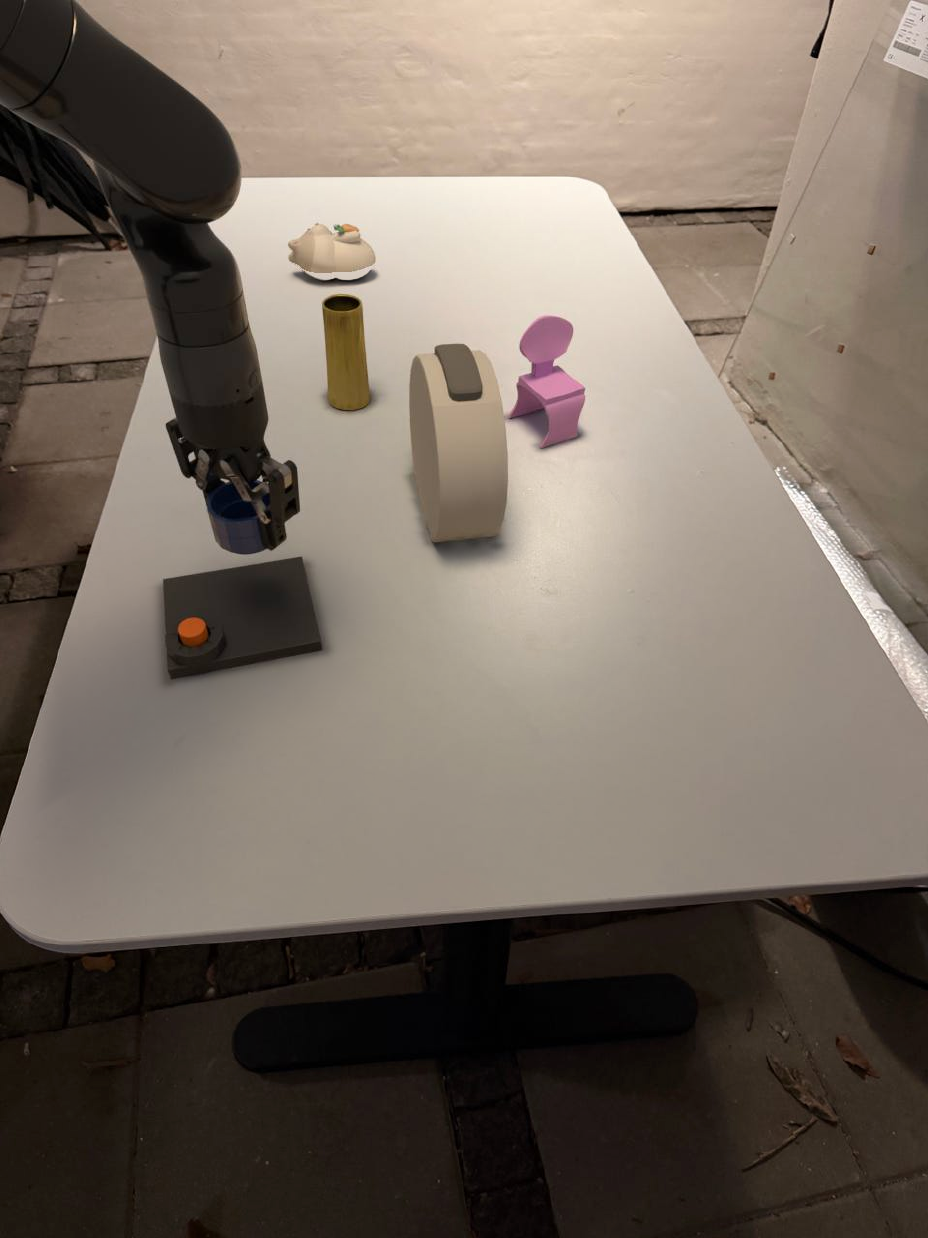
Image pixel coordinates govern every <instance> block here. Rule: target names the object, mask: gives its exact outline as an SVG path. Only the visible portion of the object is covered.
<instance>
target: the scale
mask: <svg viewBox="0 0 928 1238" xmlns="http://www.w3.org/2000/svg"><path fill="white" fill-rule="evenodd" d="M162 586H163V587H162V588H163V603H164V604H163V607H164V625H165V627H164V628H165V635H164V642H165V648H166V662H167V663H166V664H167V672H168V674H169V677H170V679H177V678H182V677H186V676H192V675H197V674H198V675H199V674H202V673H207V672H212V671H218V670H223V669H229V668H234V667H239V666H245V665H250V664H256V663H260V662H266V661H270V660H276V659H280V658H285V657H292V656H296V655H302V654H307V653H312V652H318V651H322V650H323V645H322V640H321V635H320V629H319V625H318V621H317V618H316V613H315V608H314V604H313V600H312V596H311V590H310V586H309V581H308V577H307V574H306V568H305V564H304V559H303V557H302V556H295V557H289V558H283V559H277V560H271V561H265V562H259V563H252V564H247V565H242V566H235V567H229V568H223V569H216V570H211V571H204V572H199V573H198V572H197V573H192V574H186V575H179V576H173V577H167V578H163V579H162ZM188 618H200V619H202V620H203V621H204V622H205V625H206V628H207V631H208V639H207V641H206V642H205V643H204V644H202V645H200V646H197V647H188V646H185V645H184V644H183V643H182V641H181V638H180V635H179V632H178V627H179V625H180V623H181V622H182V621H184V620H186V619H188Z"/></svg>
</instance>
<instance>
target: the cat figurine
mask: <svg viewBox="0 0 928 1238" xmlns="http://www.w3.org/2000/svg"><path fill="white" fill-rule="evenodd" d="M333 230H334V231H337V232H335V233H333V232H332V231H331V230H330V229H329V228H328V226H326V225H325V224H321V223H320V224H319V223H318V222H316V223H314V226H312V227H311V228H308V229H306V231H305V232H304V233H303V234H302V235H301V236H300V237H298V238H295V239H291V240H290V241H288V243H287V246H288V248H289V249H290V250H291V252H290V253H289V254H288V255H287V258H288V261H289V262H290V263H291V262H292V263H291V264H293V263H295V264H294V265H296V264H297V265H296V266H298V265H299V266H298V267H299V268H300V267H301V268H302V269H304V270H306V271H309V272H314V273H332V272H352V271H353V272H354V271H357V270H361V269H364V268H366V267H369V266H372V265H373V264H374V263H375V264H376V254H375V251H374V249H373V248H372V246H371V245H370V244H369V243H368V242H367V241H365V240H364V239H362V238H361V232H360V229H359V228H358V227H357V226H355V225H351V224H348V223H344V224H341V225H340V224H338V223H337V224H334V225H333ZM301 268H300V269H301ZM302 269H301V270H302Z"/></svg>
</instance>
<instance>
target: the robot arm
mask: <svg viewBox="0 0 928 1238" xmlns="http://www.w3.org/2000/svg"><path fill="white" fill-rule="evenodd" d="M0 105H1V106H2V107H4V108H6V109H7V110H8V111H10V112H12V113H13V114H15V115H16V116H17V117H19V118H21V119H22V120H24V121H26V122H27V123H29V124H31V125H33V126H35V127H37V128H38V129H40V130H42V131H44V132H45V133H48V134H50V135H52V136H54V137H56V138H58V139H60V140H61V141H64V142H65V143H67V144H69V145H71V146H72V147H74V148H75V149H77V150H78V151H80V152H81V153H82V154H84V155H85V156H86V157H88V159H90V160H91V161H92V164H93V168H94V171H95V174H96V177H97V180H98V183H99V186H100V189H101V191H102V193H103V195H104V198H105V200H106V203H107V204H108V205H107V206H108V207H109V209H110V212H111V213H112V216H113V218H114V220H115V222H116V224H117V226H118V227H117V228H118V229H119V231H120V234H121V235H122V237H123V240H124V242H125V244H126V246H127V248H128V250H129V252H130V254H131V255H132V257H133V259H134V261H135V264H136V265H137V267H138V270H139V272H140V275H141V278H142V280H143V286H144V290H145V296H146V299H147V302H148V307H149V309H150V313H151V314H150V315H151V317H152V322H153V325H154V329H155V333H156V337H157V343H158V351H159V353H158V354H159V357H160V358H159V359H160V364H161V367H162V370H163V371H162V372H163V374H164V378H165V381H166V385H167V389H168V392H169V396H170V400H171V404H172V408H173V412H174V415H175V417H174V418H172V419H171V420H169V421H168V422H166V423H165V430H166V432H167V435H168V437H169V441H170V443H171V446H172V449H173V452H174V456H175V459H176V460H177V463H178V466H179V469H180V472H181V474H182V475H183V477H185V478H186V479H191V478H192V479H194V480H195V485H196V487H197V488H198V489H199V490H200V491H202V494H203V499H204V503H205V505H206V507H207V504H206V500H207V499H208V497H209V495H210V493H211V492H212V491H213V490H214V489H216V488H217V487H218V486H220V485H222V484H224V483H226V481H224V480H227V481H228V482H229V481H230V482H231V483H233V484H234V485H235V487H236V488H237V490H238V492H239V493H240V495H241V497H242V499H243V500H244V502H246V503H251V505H252V506H253V508H254V510H255V511H256V513H257V515H258V517H259V518H260V520H259V525H260V530H261V534H262V539H263V544H264V547H265V548H267V549H266V550H268V551H271V552H272V551H274V550H276V549H277V548H278V547H279V546H281V545H282V544H283V543H284V542H286V541H287V537H288V535H287V532H286V531H287V529H286V522H288V521H289V520H290V519H292V518H293V517H294V516H296V515H298V514H299V513H300V512H301V504H300V489H299V488H300V487H299V474H298V467H297V464H296V463H295V462H294V461H293V460H291V459H287V460H286V461H285V462H283V463H281V462H280V461H278V460H276V459H274V458H272V455H271V452H270V450H269V448H268V447H267V445H266V442H265V434H266V431H267V427H268V424H269V412H268V406H267V400H266V395H265V388H264V383H263V378H262V372H261V366H260V361H259V360H260V359H259V355H258V348H257V345H256V341H255V337H254V334H253V331H252V329H251V325H250V321H249V316H248V311H247V304H246V299H245V292H244V287H243V281H242V276H241V272H240V267H239V265H238V263H237V260H236V257H235V256H234V254H233V252H232V250H230V248H229V247H228V246H227V245H226V244H225V243H224V242H223V241H222V240H221V239H220V238H219V237H218V236H217V235H216V234H215V233H214V231H213V230H212V228H211V227H210V225H209V224H211V223H213V222H216V221H217V220H220V219H221V218H223V217H224V216H225V215H227V214H228V213H229V211H230V210H231V209H232V208H233V207H234V206H235V204H236V201H237V200H238V197H239V195H240V191H241V186H242V181H243V180H242V177H243V175H242V171H243V170H242V163H241V158H240V155H239V151H238V148H237V146H236V143H235V141H234V138H233V137H232V135H231V134H230V132H229V130H228V129H227V127H226V125H225V124H224V122H222V121H221V119H220V118H219V117H218V116H217V115H216V113H214V112H213V110H211V108H209V107H208V106H207V105H206V104H205V103H203V102H202V101H201V99H199V98H198V97H197V96H195V95H194V94H193V93H192V92H190V91H189V90H188V89H187V88H186V87H184V86H182V84H180V83H179V82H178V81H176V80H175V79H173V77H171V76H169V75H168V74H166V72H164V71H163V70H161V69H160V68H159V67H157V66H156V65H155V64H154V63H152V62H151V61H150V60H148V59H147V58H145V57H144V56H143V55H142V54H140V53H138V52H136V51H135V50H134V49H133V48H131V47H130V46H129V45H127V44H125V43H124V42H123V41H122V40H120V39H118V37H116V36H114V35H113V34H112V33H111V32H110V31H109V30H108V29H106V28H105V27H103V26H102V25H101V24H100V23H99V22H98V21H97V20H96V19H95V18H94V17H93V16H91V15H90V14H89V13H88V11H86V10H85V8H84V7H83V6H82V5H81V4H80V3H79V2H77V0H0ZM190 454H193V455H194V459H192V460H190V458H189V456H190ZM260 478H261V479H262V481H261V482H262V483H261V484H260V485H258V486H257V487H256V488H254V489H253V490H251V489H250V487H249V485H250V484H252V483H253V482H255V481H256V480H260ZM266 494H267V495H268V497H269V499H270V505H269V506H267V507H265V505H264V503H263V501H262V497H263V496H265V495H266Z"/></svg>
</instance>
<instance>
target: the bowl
mask: <svg viewBox="0 0 928 1238" xmlns="http://www.w3.org/2000/svg"><path fill="white" fill-rule="evenodd" d="M261 483H262V481H261V480H260V479H257V480H256V481H255V482H253V483H252V484H250V485H249V487H250V489H251V490H253V489H254V488H256V487H257V486H258V485H260V484H261ZM262 501H263V503H264V505H265V507H267V506H269V505H270V499H269V497H268V495H267V494H266V495H265V496H263V497H262ZM206 504H207V506H206V511H207V514H208V518H209V522H210V525H211V530H212V533H213V537H214V540H215V542H216V543H217V545H218V546H219V547H220V548H221V549H222V550H225V551H227V552H229V553H232V554H237V555H243V556H244V555H245V556H247V555H254V554H255V555H256V554H258V553H261V552H264V551H265V550H268V549H267V548H265V547H264V544H263V539H262V534H261V530H260V525H259V520H260V518H259V517H258V515H257V513H256V511H255V510H254V508H253V506H252V505H251V503H246V502H244V500H243V499H242V497H241V495H240V493H239V492H238V490H237V488H236V487H235V485H234V484H233V483H231V482H230V481H229V480H228V481H227V482H225V483H224V484H222V485H220V486H218V487H217V488H216V489H214V490H213V491H212V492H211V493H210V495H209V497H208V499H207V500H206V502H205V505H206Z"/></svg>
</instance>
